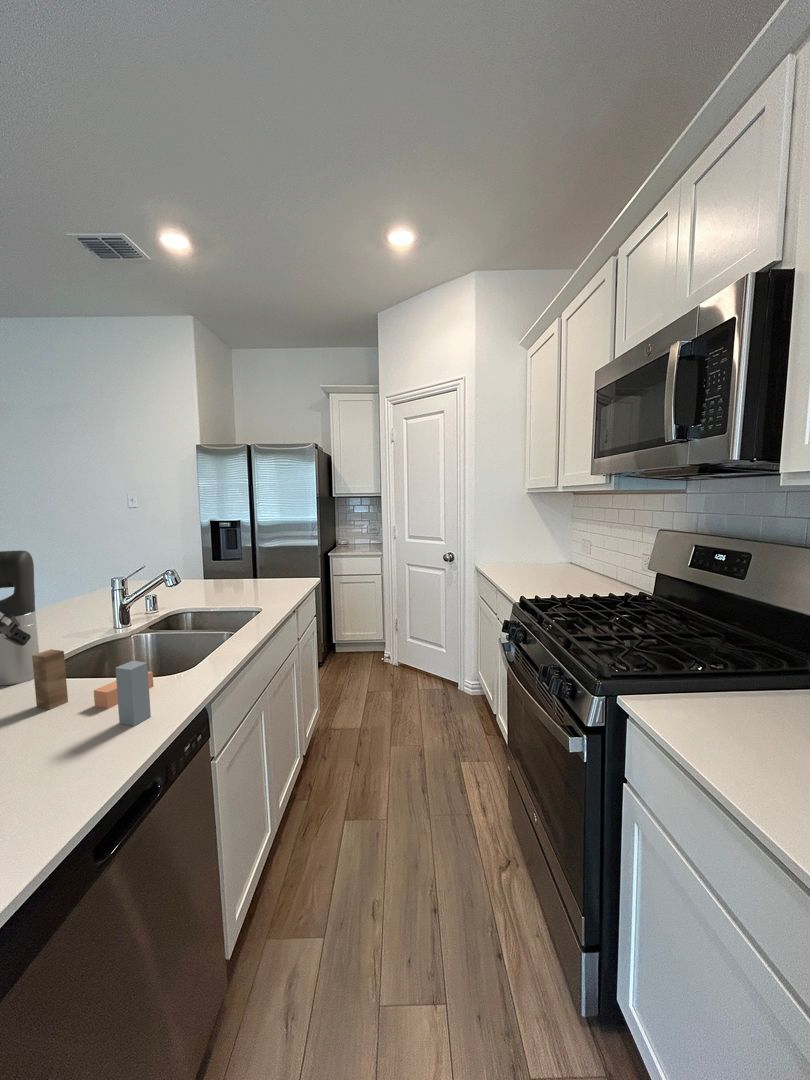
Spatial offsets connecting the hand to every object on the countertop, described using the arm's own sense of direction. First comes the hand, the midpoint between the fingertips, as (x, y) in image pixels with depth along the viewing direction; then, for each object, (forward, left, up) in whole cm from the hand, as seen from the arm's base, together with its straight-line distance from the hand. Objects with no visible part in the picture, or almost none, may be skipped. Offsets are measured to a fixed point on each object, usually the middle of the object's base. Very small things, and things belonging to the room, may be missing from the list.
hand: (24, 640), depth 84 cm
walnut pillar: (-16, +4, -20) cm, 26 cm away
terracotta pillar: (-7, +12, -18) cm, 23 cm away
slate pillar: (+5, +16, -20) cm, 26 cm away
